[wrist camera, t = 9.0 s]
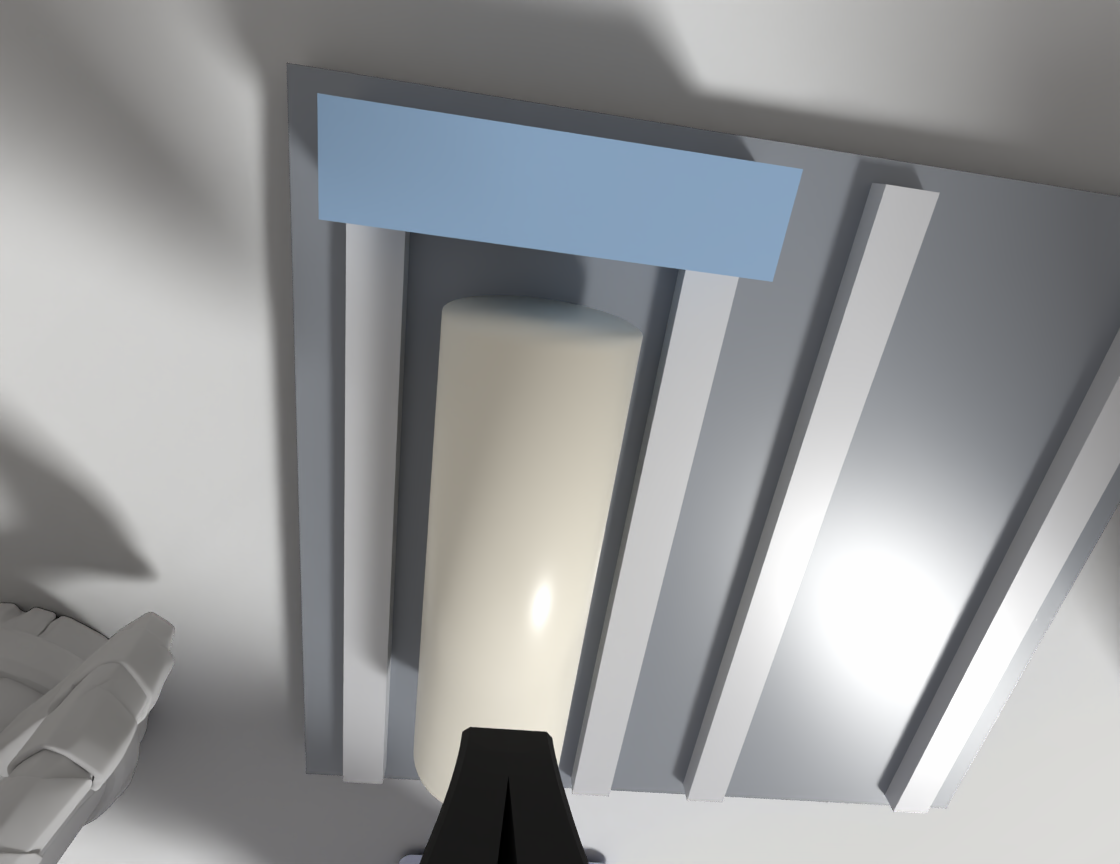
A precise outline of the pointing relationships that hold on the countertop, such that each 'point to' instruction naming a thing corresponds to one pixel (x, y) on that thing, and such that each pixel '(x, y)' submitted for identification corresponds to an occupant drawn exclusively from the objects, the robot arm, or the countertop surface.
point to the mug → (70, 723)
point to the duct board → (711, 432)
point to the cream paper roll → (515, 514)
